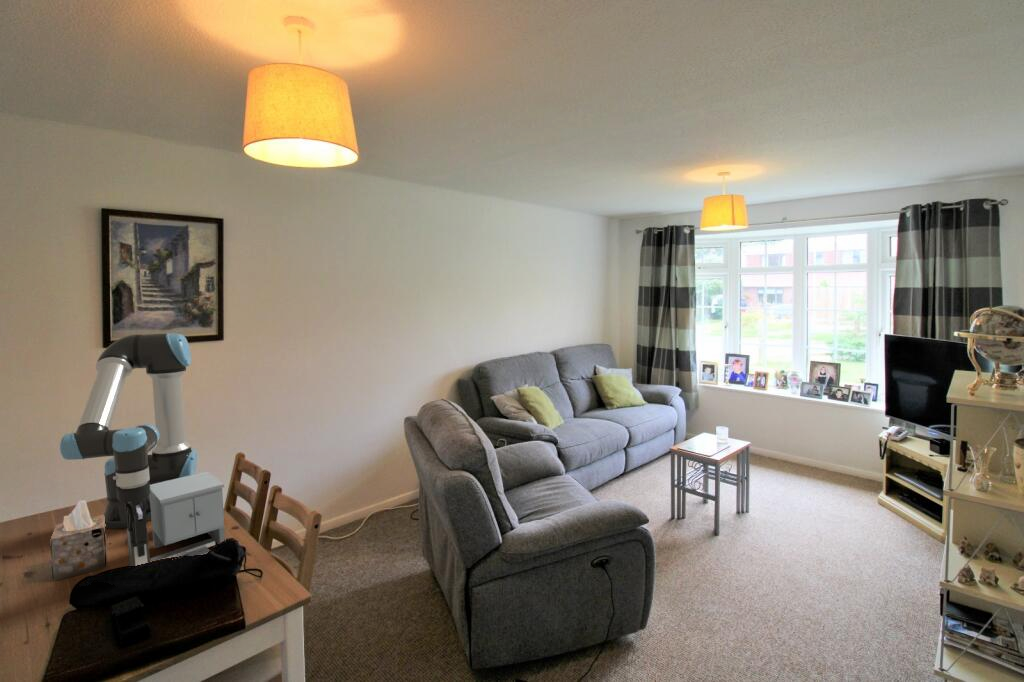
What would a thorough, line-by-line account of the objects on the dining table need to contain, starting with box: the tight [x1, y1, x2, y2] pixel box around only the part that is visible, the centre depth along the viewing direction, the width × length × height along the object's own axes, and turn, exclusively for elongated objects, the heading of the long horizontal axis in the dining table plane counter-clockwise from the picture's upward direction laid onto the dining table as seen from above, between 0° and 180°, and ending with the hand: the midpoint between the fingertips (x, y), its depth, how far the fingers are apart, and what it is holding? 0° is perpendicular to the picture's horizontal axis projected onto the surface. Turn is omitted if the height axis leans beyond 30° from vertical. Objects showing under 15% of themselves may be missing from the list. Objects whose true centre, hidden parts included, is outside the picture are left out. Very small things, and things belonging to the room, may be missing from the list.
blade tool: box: [126, 526, 216, 567], centre depth 151 cm, size 4×21×12 cm, turn 138°
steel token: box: [186, 546, 210, 556], centre depth 153 cm, size 5×5×2 cm
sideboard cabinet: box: [150, 471, 226, 549], centre depth 159 cm, size 17×17×20 cm
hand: (139, 562), depth 145 cm, fingers closed on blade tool, 4 cm apart
